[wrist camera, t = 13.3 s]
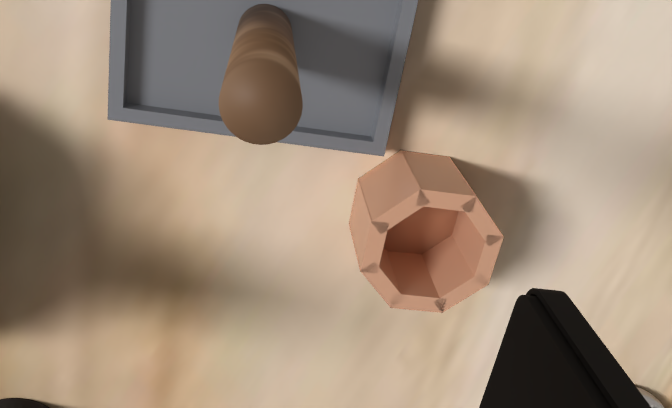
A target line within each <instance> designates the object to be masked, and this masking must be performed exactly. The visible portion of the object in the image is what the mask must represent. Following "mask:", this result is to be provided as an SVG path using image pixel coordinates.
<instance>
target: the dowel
mask: <svg viewBox="0 0 672 408" xmlns="http://www.w3.org/2000/svg"><path fill="white" fill-rule="evenodd" d="M302 109H303V101H302V94H301V87H300V81H299V74H298V67H297V61H296V54H295V47H294V41H293V34H292V27H291V23H290V21H289V19H288V17H287V15H286V14H285V13H284V12H283V11H282V10H281V9H279V8H278V7H276V6H273V5H270V4H258V5H254V6H252V7H250V8H249V9H248V10H246V11H245V12H244V14H243V15H242V16H241V18H240V21H239V24H238V27H237V31H236V35H235V39H234V42H233V46H232V50H231V54H230V57H229V61H228V65H227V68H226V72H225V76H224V80H223V83H222V87H221V91H220V95H219V111H220V115H221V118H222V120H223V122H224V124H225V125H226V127H227V128H228V129H229V130H230V132H231V133H233V134H234V135H235V136H236V137H238V138H239V139H241V140H243V141H245V142H249V143H252V144H260V145H263V144H271V143H275V142H278V141H280V140H282V139H284V138H285V137H287V136H288V135H289V134H290V133H291V132H292V131H293V130H294V129H295V127H296V126H297V124H298V123H299V120H300V118H301V115H302Z"/></svg>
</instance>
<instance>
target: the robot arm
mask: <svg viewBox="0 0 672 408" xmlns="http://www.w3.org/2000/svg"><path fill="white" fill-rule="evenodd" d="M479 408H665V407H664V406H663V405H662V404H661V402H660V401H659V400H658V399H657V398H656V397H654V396H653V395H652V394H651V393H649V392H647V391H645V390H643V389H641V388H638V387H636V386H635V385H634V383H633V382H632V381H631V379H630V378H629V377H628V375H627V374H626V373H625V371H624V370H623V369H622V367H621V366H620V365H619V363H618V362H617V361H616V359H615V358H614V357H613V355H612V354H611V353H610V351H609V350H608V349H607V347H606V346H605V345H604V343H603V342H602V341H601V339H600V338H599V337H598V335H597V334H596V333H595V331H594V330H593V329H592V327H591V326H590V325H589V323H588V322H587V321H586V319H585V318H584V317H583V315H582V314H581V313H580V311H579V310H578V309H577V307H576V306H575V305H574V303H573V302H572V301H571V299H570V298H569V297H568V295H567V294H566V293H565V292H562V291H555V290H546V289H536V288H532V289H530V290H529V291H528V292H527V294H526V295H521V296H519V297H518V299H517V301H516V303H515V306H514V309H513V311H512V314H511V317H510V320H509V323H508V326H507V329H506V332H505V335H504V338H503V340H502V343H501V346H500V349H499V352H498V355H497V358H496V361H495V364H494V367H493V369H492V372H491V375H490V378H489V381H488V384H487V387H486V390H485V393H484V395H483V398H482V401H481V404H480V407H479Z"/></svg>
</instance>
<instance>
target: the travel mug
mask: <svg viewBox="0 0 672 408" xmlns="http://www.w3.org/2000/svg"><path fill="white" fill-rule="evenodd" d="M0 408H49V407H47V406H45V405H43V404H41V403H38V402H35V401H32V400H27V399H20V398H8V399H1V400H0Z"/></svg>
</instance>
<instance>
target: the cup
mask: <svg viewBox="0 0 672 408" xmlns="http://www.w3.org/2000/svg"><path fill="white" fill-rule="evenodd" d="M349 226H350V230H351V235H352V239H353V243H354V247H355V251H356V255H357V259H358V264H359V268H360V272H362V274H363V275H364V276H365V277H366V278H367V280H368V281H369V282H370V283H371V284H372V286H373V287H374V288H375V289H376V291H377V292H378V293H379V294H380V295H381V297H382V298H383V299H384V300H385V301H386V303H387V304H388V305H389V306H390V308H399V309H409V310H420V311H430V312H441V313H443V312H444V311H446V310H448V309H449V308H451V307H452V306H454V305H456V304H457V303H459V302H461V301H462V300H464V299H466V298H467V297H469V296H470V295H472V294H474V293H475V292H477V291H479V290H480V289H482V288H483V287H485V286H487V285H488V284H489V281H490V278H491V275H492V272H493V269H494V266H495V262H496V259H497V256H498V253H499V250H500V247H501V244H502V241H503V238H504V236H503V234H502V233H501V232H500V230H499V229H498V227H497V226H496V224H495V223H494V221H493V220H492V219H491V217H490V216H489V214H488V213H487V211H486V210H485V208H484V207H483V205H482V204H481V202H480V201H479V199H478V198H477V196H476V194H475V193H474V191H473V190H472V188H471V187H470V185H469V184H468V183H467V181H466V180H465V178H464V177H463V175H462V174H461V172H460V171H459V170H458V168H457V167H456V165H455V164H454V162H453V161H452V160H451V158H450V157H446V156H439V155H431V154H424V153H417V152H409V151H402V150H400V151H399V152H397V153H396V154H394V155H393V156H391V157H390V158H388V159H387V160H385V161H384V162H382V163H381V164H379V165H378V166H376V167H375V168H374V169H372V170H371V171H369V172H368V173H366V174H365V175H363V176H362V177H360V178H358V182H357V187H356V192H355V197H354V202H353V207H352V212H351V216H350V221H349Z"/></svg>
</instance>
